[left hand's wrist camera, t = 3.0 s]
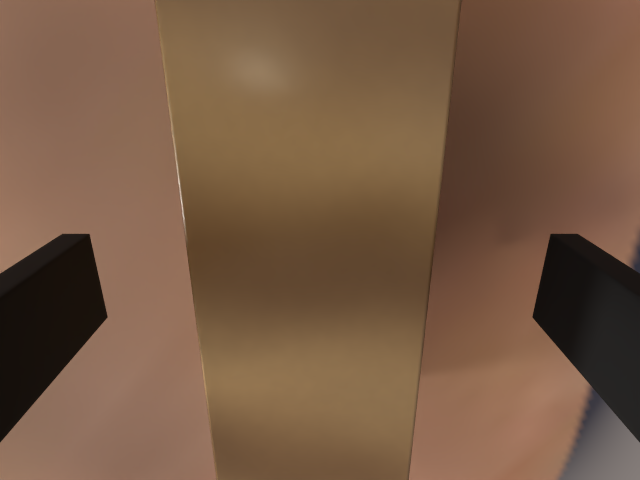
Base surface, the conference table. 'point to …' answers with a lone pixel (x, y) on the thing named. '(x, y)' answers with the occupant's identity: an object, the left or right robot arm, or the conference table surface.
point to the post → (310, 221)
